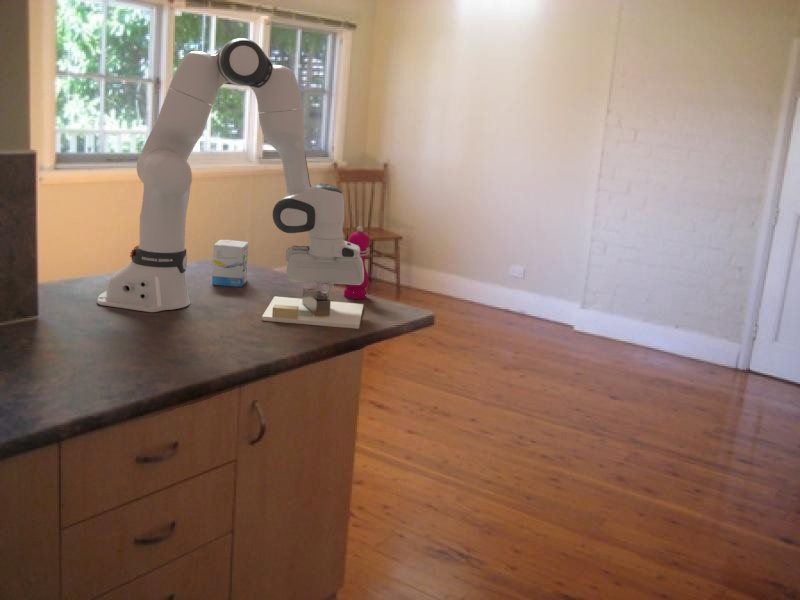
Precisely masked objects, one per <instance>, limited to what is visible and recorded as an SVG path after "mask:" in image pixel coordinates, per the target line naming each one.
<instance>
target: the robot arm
mask: <svg viewBox="0 0 800 600" xmlns="http://www.w3.org/2000/svg"><path fill="white" fill-rule="evenodd" d="M224 84H225V85H231V86H232V85H233V86H238V87H249V89H251V90H252V91H253V93H254V95H255V98H256V102H257V111H258V119H259V124H260V128H261V132H262V134H263V135H262V136H263V138H264V140H265V141H266V142H267V143H268V144H269V145H270V146H271V147H272V148H273V149H274V150H275V151H276V152H277V154H278V155H279V156H280V158H281V159H280V160H281V163H282V168H283V174H284V181H285V185H286V186H285V187H286V194H285V196H284V197H282V198H281V199H279V201H277V202H276V204H274V206H273V209H272V220H273V223H274V225H275V226H276V227H277V229H279V230H280V231H281V232H284V233H286V234H299V233H305V232H307V233H309V237H308V238H309V240H308V241H309V242H308V245H302V246H301V245H291V246H290V247H288V248H287V249H286V250H285V260H286V262H287V263H286V265H287V266H286V273H285V278H286V279H287V280H288V281H289V282H298V283H316V288H317V289H318V290H319V291H320V292H321V293H322V294H324V295H326V296H328V299H329V298H330V292H331V291H332V290H333V288H334V284H337V285H344V284H351V285H361V284H362V283H363V281H364V268H363V261H362V258H361V257H360V256H359V254H360V247H359V246H358V245H355V244H352V243H350V242H348V241H347V240H345V239H344V238H345V235H344V231H343V230H344V229H343V228H344V227H343V226H344V223H345V198H344V194H343V191H342V190H341V189H340V188H339V187H337V186H335V185H332V184H328V183H320V182H319V183H318V182H317V183H315V184H313V185H311V181H310V174H309V168H308V162H307V156H306V148H305V121H304V109H303V103H302V97H301V91H300V88H299V85H298V80H297V77H296V75H295V73H294V71H293V70H292V69H291V68H289V67H288V66H285V65H281V64H273V63H272V62H271V60H270V59H269V57H268V56H267V54H266V53H265V51H264V50H263V48H262V47H260V45H259V44H257V42H255V41H253V40H252V39H250V38H247V37H246V38H244V37H241V38H234V39H231V40H229V41H227V42H226V43H225V44H223V45H222V47H221V48H219V50H217V52H215V53H214V54H210V53H207V52H204V51H201V50H193V51H190V52H187V53H186V54H185V55H184V56H183V58H182V59H181V61H180V63H179V65H178V66H177V68H176V70H175V72H174V74H173V77H172V78H171V81H170V83H169V86H168V88H167V92H166V95H165V97H164V100H163V103H162V105H161V109H160V110H159V113H158V116H157V119H156V121H155V123H154V125H153V127H152V129H151V131H150V132H149V135H148V137H147V139H146V141H145V143H144V145H143V148H142V149H141V153H140V154H139V157H138V158H137V162H136V174H137V176H138V178H139V180H140V181H141V183H142V184H143V194H142V203H141V204H142V205H141V211H140V214H139V237H138V238H139V244H137V245H136V246H134V247H133V249H132V250H131V252H129V254H130V255H129V257H130V258H131V259H130V260H131V261H130V262H128V263H127V264H126V265H125V266H123V267H122V268H120V269H119V270H117V271H116V272H114V273H113V274H112V275H111V276H110V278H109V280H108V283H107V287H106V290H105V291H104V292H102V293H100V294H99V295H98V296H97V304H98V305H100V306H105V307H106V306H107V307H113V308H119V309H125V310H133V311H139V312H140V311H141V312H147V313H157V312H161V311H168V310H171V311H172V310H176V309H177V310H178V309H182V308H185V307H188V306H189V305H190V304H191V301H190V298H189V293H188V288H187V280H186V270H187V266H188V265H187V264H188V256H187V249H186V248H185V247H186V222H187V220H186V219H187V212H188V207H189V200H190V194H191V185H192V182H193V172H192V168H191V166H190V163H189V162H188V159H189V158H190V155H191V154H192V152H193V149H194V148H195V146H196V145H197V142H198V141H199V140H200V138H201V137H202V136H203V132H204V131H205V127H206V125H207V123H208V118H209V117H210V114H211V111H212V108H213V105H214V103H215V99H216V97H217V95H218V92H219V90H220V89H221V87H222V86H223V85H224ZM324 284H327V288H328V289H327V290H326V291H324V290H323V285H324ZM329 300H330V299H329Z"/></svg>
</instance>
